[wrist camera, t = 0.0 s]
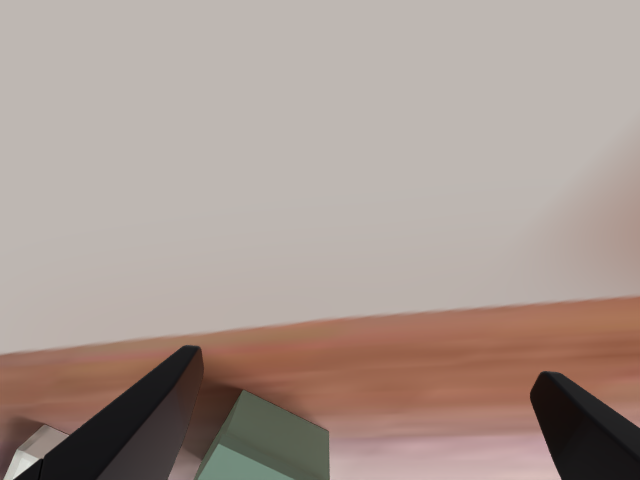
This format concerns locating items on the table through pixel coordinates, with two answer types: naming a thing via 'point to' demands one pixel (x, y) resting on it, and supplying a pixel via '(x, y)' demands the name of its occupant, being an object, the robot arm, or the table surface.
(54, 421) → the table surface
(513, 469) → the table surface
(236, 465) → the green lidded box
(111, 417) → the robot arm
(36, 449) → the tray
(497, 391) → the table surface
